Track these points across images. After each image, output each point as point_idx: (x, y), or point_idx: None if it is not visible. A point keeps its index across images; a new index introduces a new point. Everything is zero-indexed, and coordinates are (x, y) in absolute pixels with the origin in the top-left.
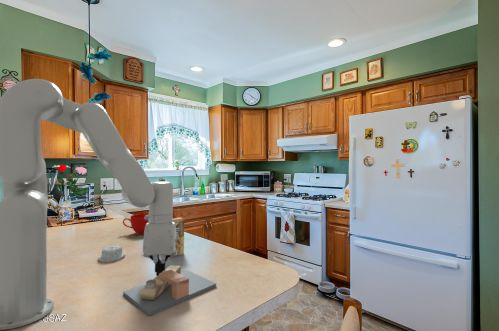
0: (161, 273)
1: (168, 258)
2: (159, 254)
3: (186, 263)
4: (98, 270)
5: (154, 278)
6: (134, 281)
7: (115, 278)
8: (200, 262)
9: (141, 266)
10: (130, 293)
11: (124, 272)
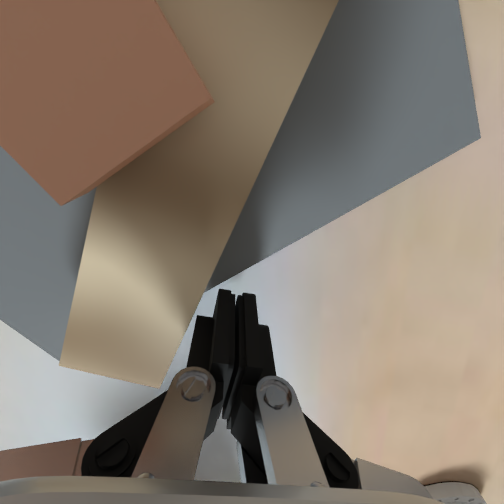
0: (168, 75)
1: (115, 425)
2: (223, 495)
3: None
4: (499, 430)
5: (267, 145)
6: (372, 308)
7: (453, 355)
8: (33, 444)
9: None
10: (441, 81)
11: (405, 402)
